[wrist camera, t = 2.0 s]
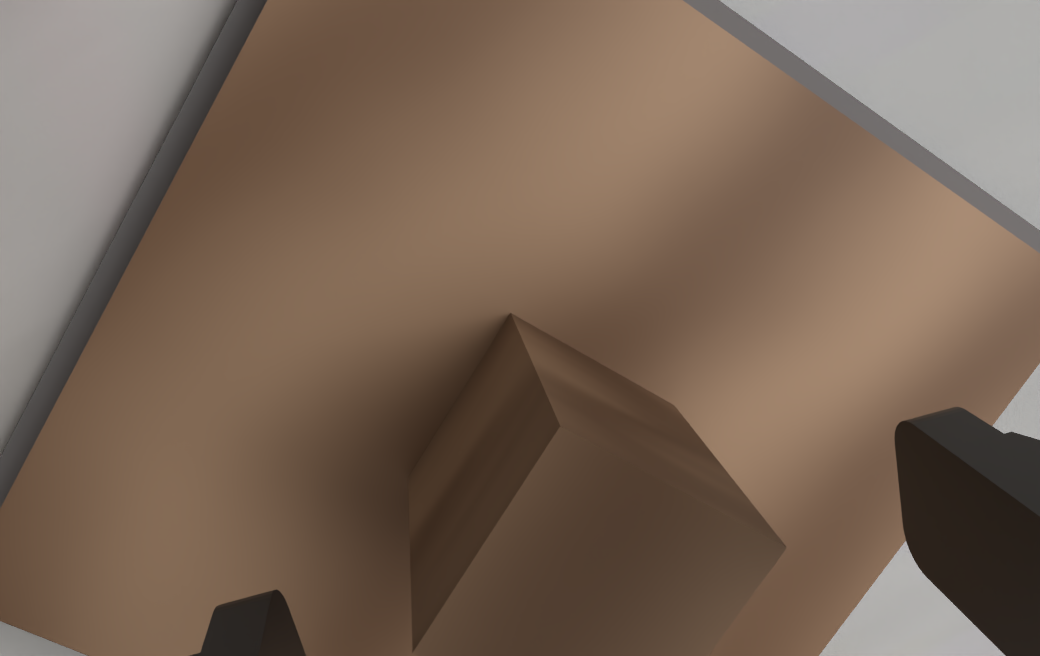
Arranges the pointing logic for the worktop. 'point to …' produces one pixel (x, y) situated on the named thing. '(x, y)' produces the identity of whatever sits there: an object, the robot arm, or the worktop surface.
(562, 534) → the walnut lid
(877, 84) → the worktop surface
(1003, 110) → the worktop surface
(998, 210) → the charcoal mat
